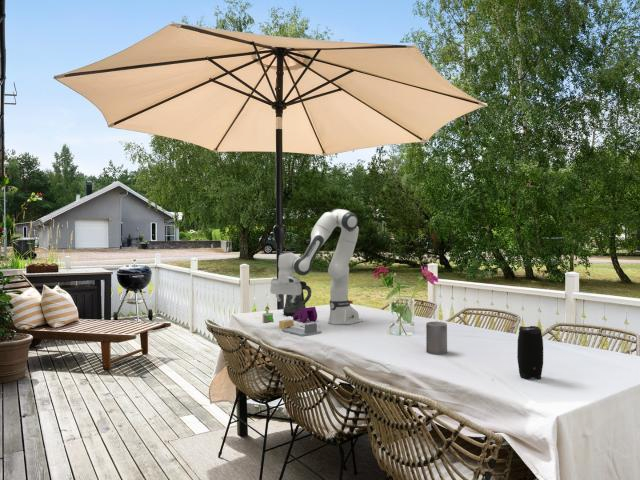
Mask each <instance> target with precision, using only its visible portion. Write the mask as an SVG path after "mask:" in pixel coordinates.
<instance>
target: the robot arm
mask: <svg viewBox="0 0 640 480" xmlns="http://www.w3.org/2000/svg"><path fill="white" fill-rule="evenodd" d="M357 216H358V215H356V214H355V213H354V212H351V211H350V210H348V209H341V208H338V207H337V208H333V209H331V211H327V212H326V211H325V212H324V213H323V214H322V215H321V216H320V217H319V219H318V220H317V221H316V223H315V224H314V226H313V227H312V229H311V231H310V232H311V233H310V243H309V245H308V246H307V248H306V250H305V252H304V254H303V255H302V256H299V255H297V254H295V253H293V252H292V251H285V252H282V253H280V254H279V255H278V261H277V262H278V263H277V267H278V272H277V273H278V274H277V275H278V276H277V277H278V278H272V279H271V280H270V288H269V289H270V290H269V291H270V294H271V295H275V298H276V299H277V300H276V302H280V303H281V302H282V298H280V295H286V296H287V295H292V297H293V298H292V300H291V303H294V299H295V297H296V295H301V292H302V290H301V284H300V283H299V282H300V281H301V278H299V277H297V276H295V275H294V273H296V274H297V275H299V276H306V275H308V274H309V273H310V272H311V270H312V265H313V262H314V260H315V257H316V256H317V255H318V253H319V251H320V249H321V247H322V246H323V245H324V244H325V243H326V241H327V240H328V239H329V237H330V236H331V235H332V233H333V231H334V229H335V228H337V227H339V228H341V229H340V230H341V232H340V235H339V237H338V241H337V244H336V248H335V251H334V253H333V255H332V257H331V260H330V263H329V266H328V268H327V272H328V275H329V276H330V277H331V281H330V288H329V289H330V293H329V294H330V295H329V296H330V298H329V299H330V300H329V308H330V309H329V318H328V323H329V324H332V325H353V324H356V323H361V322H363V319H361V318H360V317H359V316H360V315H359V312H358V310H357V309H355V308H353V307H352V304H354V301H353V300H351V299H350V300H349V281H350V280H349V276H350V267H349V264H350V261H351V259H352V257H353V255H354V252H355V251H354V250H355V247H356V244H357V241H358V239H359V238H358V237H359V232H360V231H359V229H360V228H359V226H358V222H359V221H358V217H357Z"/></svg>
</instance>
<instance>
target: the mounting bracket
mask: <svg viewBox="0 0 640 480" xmlns="http://www.w3.org/2000/svg"><path fill="white" fill-rule="evenodd" d="M292 319H293V320H298V321H299V323H301V322H302V324H304V323H305V324H307V322H311V321H312V323H314V322H316V321H317V320H318V312H317V309H316V306H311V307H310V306H308V307H306V308H302V309H301V310H299V311H298V312H296V313H295V314H294V315H293V317H292ZM313 321H314V322H313Z"/></svg>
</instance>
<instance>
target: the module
mask: <svg viewBox="0 0 640 480" xmlns="http://www.w3.org/2000/svg"><path fill="white" fill-rule="evenodd" d="M294 323H295V322H294V319H293V320H292V319H282V320H279V321H278V326H279V330H282V329H286V328H291V326H295V325H294Z"/></svg>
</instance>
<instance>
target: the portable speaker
mask: <svg viewBox="0 0 640 480" xmlns="http://www.w3.org/2000/svg"><path fill="white" fill-rule="evenodd" d="M516 353H517V356H516V357H517V359H516V360H517V365H518V373H519V376H520V378H521V379H524V380H530V379H532V378H533V379H536V380H541V379H542V373H543V368H544V339H543V334H542V328H540V327H539V326H536V325H530V326H523V325H522V326H519V328H518V337H517V352H516Z"/></svg>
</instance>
